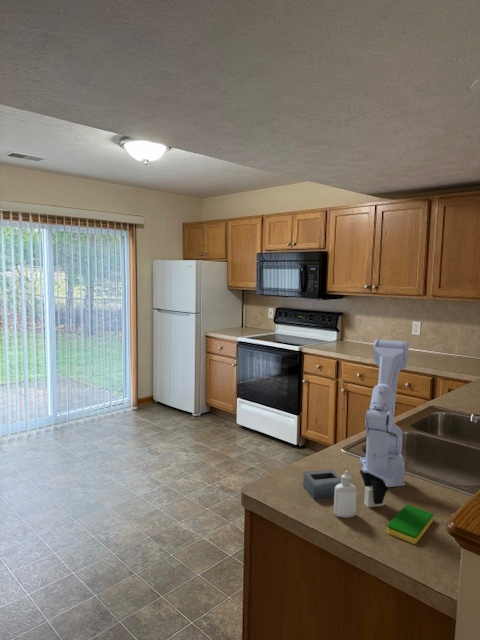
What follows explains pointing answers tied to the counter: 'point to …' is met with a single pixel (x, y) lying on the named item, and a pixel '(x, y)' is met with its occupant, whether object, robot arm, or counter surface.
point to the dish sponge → (410, 523)
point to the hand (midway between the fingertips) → (374, 499)
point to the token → (370, 497)
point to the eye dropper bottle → (345, 497)
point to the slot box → (321, 483)
